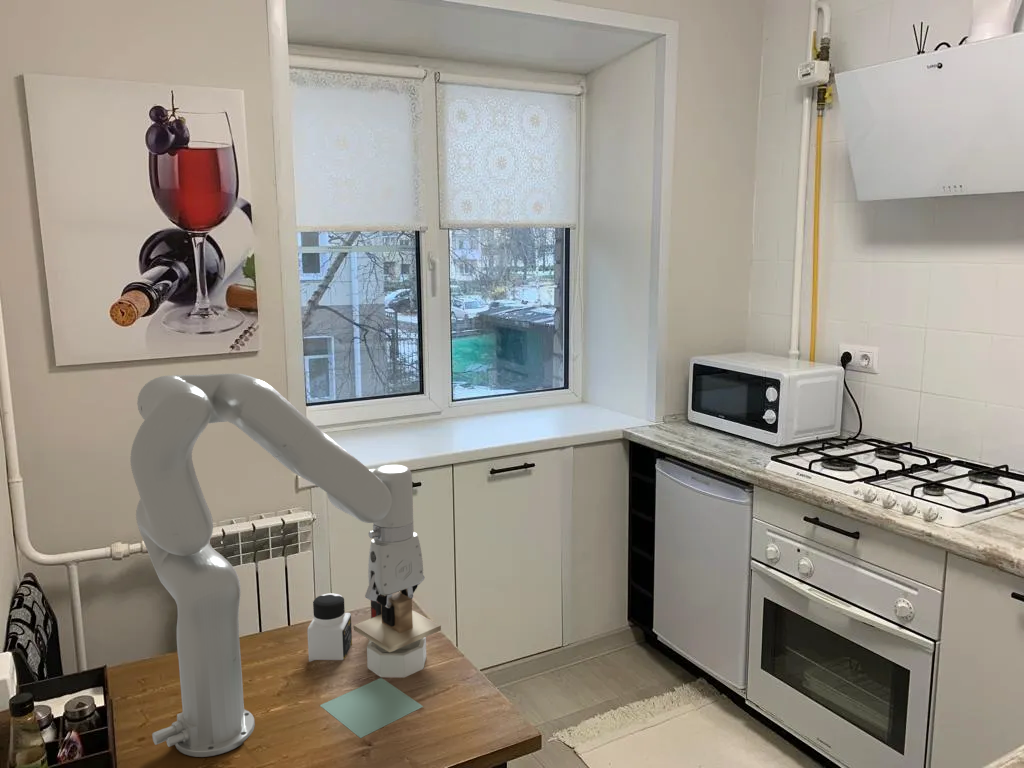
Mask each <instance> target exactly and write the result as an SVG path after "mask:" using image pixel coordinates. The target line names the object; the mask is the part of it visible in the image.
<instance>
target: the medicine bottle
mask: <svg viewBox="0 0 1024 768" xmlns="http://www.w3.org/2000/svg"><path fill="white" fill-rule="evenodd" d="M312 608H313V612H312V613H313V618H312V620H311V621H310V623H309V625H308V627H307V630H306V631H307V648H308V649H307V650H308V651H307V653H308V662H310V663H311V662H313V661H317V660H318V661H344V660H345V659H346V657H347V656H348V653H349V651H350V648H351V646H352V645H353V637H352V636H353V635H352V634H353V632H352V629H353V628H352V615H351V613H350V612H345V598H344V597H343V596H342V594H339V593H333V592H332V593H331V592H329V593H324V594H320V595H319V596H318V595H317V596H316V598H315V599H314V600H313V601H312Z"/></svg>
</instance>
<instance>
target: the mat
mask: <svg viewBox="0 0 1024 768" xmlns="http://www.w3.org/2000/svg"><path fill="white" fill-rule="evenodd" d="M319 707H321V708H322V709H324V710H325V711H326V712H327V713H329V715H331V716H332V717H333V718H334V719H336V720H337V721H338V722H339V723H340V724H341V725H343V726H345V727H346V728H347V729H348V730H350V731H351V732H352V733H354V734H355V736H357V737H358V738H359V739H362V738H364V737H366V736H368V735H370V734H372V733H374V732H376V731H378V730H380V729H382V728H383V727H386V726H388V725H389V724H392V723H394V722H396V721H398V720H400V719H401V718H404V717H406V716H408V715H410V714H411V713H413V712H415V711H417V710H420V709H421V708H424V706H423V705H422V704H421V703H419V702H418V701H417V700H414V698H412V697H410V696H409V695H407V694H406V693H404V692H403V691H401V690H400V689H398V688H397V687H396V686H394V685H393V684H391V683H390V682H388V681H387V680H385V679H383V677H380V678H377V679H376V680H373V681H371V682H369V683H366V684H363V685H362V686H360V687H357V688H356V689H353V690H350V691H348V692H347V693H344V694H341V695H339V696H337V697H335V698H333V699H331V700H328V701H325V702H323V703H322V704H320V705H319Z"/></svg>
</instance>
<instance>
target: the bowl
mask: <svg viewBox="0 0 1024 768" xmlns="http://www.w3.org/2000/svg"><path fill="white" fill-rule="evenodd" d="M366 656H367V657H366V660H367V663H366V664H367V669H368V670H369V671H371V672H372V673H374V674H375V675H377V676H378V677H380V678H406V677H409V676H410V675H413V674H415V673H417V672H419V671H422V670H423V669H424V668H425V663H426V659H427V637H424V638H422V639H420V640H417V641H415V642H413V643H411V644H408V645H406V646H404V647H401V648H399V649H397V650H394V651H392V652H388V651H386V650H385V649H383V648H382V647H380V646H378V645H377V644H375V643H374V642H372V641H371V640H369V639H368V643H367V645H366Z"/></svg>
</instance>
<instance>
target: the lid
mask: <svg viewBox="0 0 1024 768" xmlns="http://www.w3.org/2000/svg"><path fill="white" fill-rule="evenodd" d="M392 606H393V607H394V616H395V625H394V626H392V627H391V626H389V625H388V624H386V623H384V622H383V620H382V607H381V615H379V616H376V617H373V618H371V617H370V618H368V619H366V620H363V621H361V622H359V623H356V624H353V631H355V632H356V633H358V634H359V635H361V636H363V637H364V638H365V639H368V641H369V640H371V641H372V642H374V643H375V644H377V645H378V646H380V647H382V648H383V649H385V650H386V651H388V652H392V651H394V650H397V649H399V648H401V647H404V646H406V645H408V644H411V643H413V642H415V641H417V640H420V639H422V638H424V637H426V638H427V637H428V636H431V635H434V634H435V633H438V632H440V631H442V625H441V624H439V623H437V622H435V621H434V620H431V619H430V618H428V617H427V616H426V617H425V616H424V615H422V614H421V613H419V612H417V611H415V610H413V598H412V599H411V598H409V597H407V596H405V595H404V594H402V593H400V591H399V592H396V593H393V594H392Z"/></svg>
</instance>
